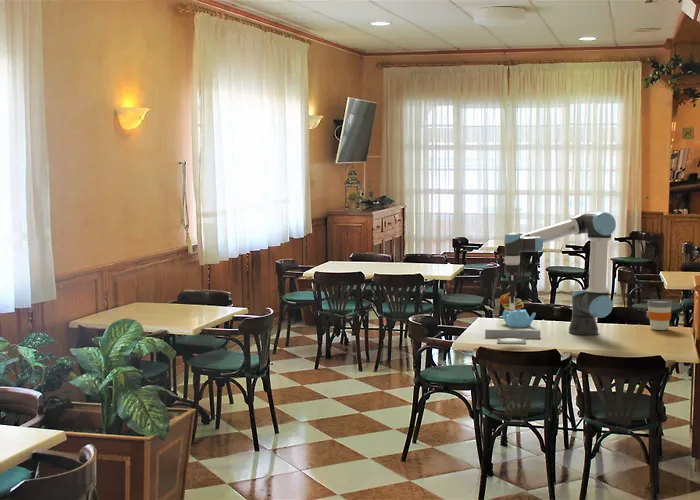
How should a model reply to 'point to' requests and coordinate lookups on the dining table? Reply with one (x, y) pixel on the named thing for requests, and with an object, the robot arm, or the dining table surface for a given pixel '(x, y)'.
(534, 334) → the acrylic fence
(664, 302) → the reusable coffee cup
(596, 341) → the dining table surface
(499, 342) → the mat
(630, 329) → the dining table surface
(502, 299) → the cheeseburger
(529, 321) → the teapot
